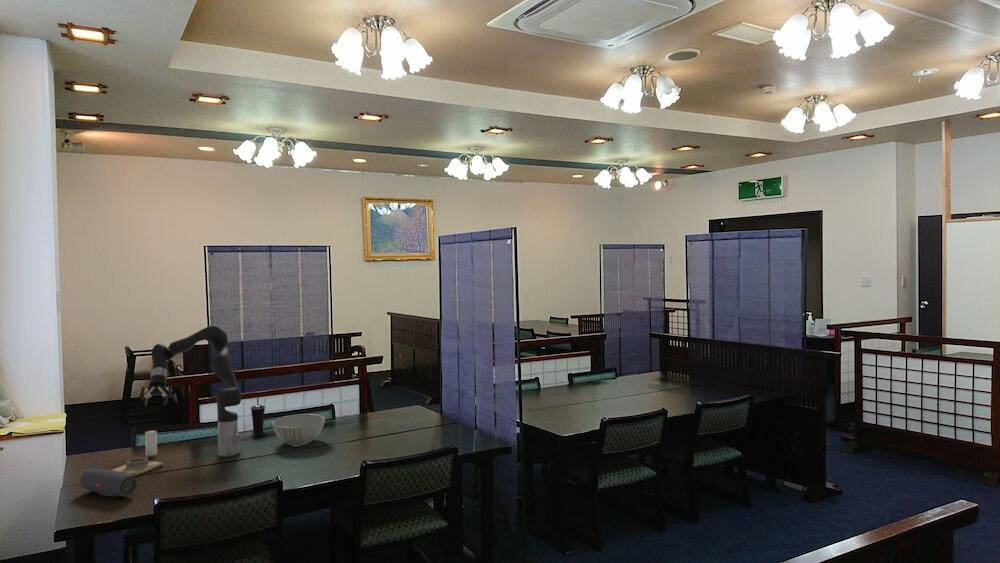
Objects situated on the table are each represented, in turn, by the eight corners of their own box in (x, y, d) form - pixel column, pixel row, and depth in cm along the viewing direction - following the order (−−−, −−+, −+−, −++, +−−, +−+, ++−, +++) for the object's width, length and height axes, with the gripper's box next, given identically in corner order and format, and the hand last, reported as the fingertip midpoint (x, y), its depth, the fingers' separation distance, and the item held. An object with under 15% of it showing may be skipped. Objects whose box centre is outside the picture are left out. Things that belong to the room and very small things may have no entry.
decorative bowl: (284, 454, 311) (284, 430, 310) (264, 442, 331) (264, 419, 331) (334, 443, 329) (333, 421, 328) (312, 432, 349) (311, 411, 348)
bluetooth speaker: (78, 495, 259) (78, 471, 258) (100, 487, 267) (99, 464, 267) (118, 503, 251) (117, 478, 250) (138, 494, 259) (138, 471, 259)
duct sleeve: (159, 454, 310) (159, 431, 309) (151, 458, 305) (150, 434, 304) (151, 453, 311) (151, 430, 311) (142, 457, 306) (142, 433, 306)
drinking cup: (268, 429, 354) (267, 395, 353) (259, 433, 347) (258, 398, 346) (257, 428, 356) (256, 394, 355) (247, 432, 349) (247, 397, 348)
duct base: (163, 465, 294) (163, 456, 294) (136, 476, 280) (136, 466, 279) (138, 462, 298) (138, 453, 298) (110, 473, 284) (110, 463, 284)
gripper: (174, 381, 333) (171, 407, 323) (144, 382, 328) (140, 409, 318) (172, 373, 327) (169, 400, 317) (142, 374, 323) (137, 402, 313)
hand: (154, 404), depth 318 cm, fingers open, 8 cm apart
